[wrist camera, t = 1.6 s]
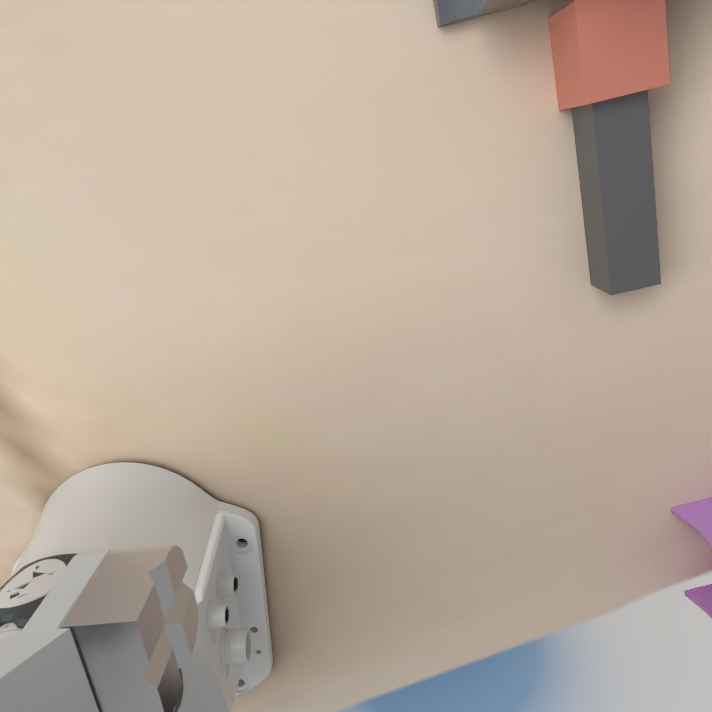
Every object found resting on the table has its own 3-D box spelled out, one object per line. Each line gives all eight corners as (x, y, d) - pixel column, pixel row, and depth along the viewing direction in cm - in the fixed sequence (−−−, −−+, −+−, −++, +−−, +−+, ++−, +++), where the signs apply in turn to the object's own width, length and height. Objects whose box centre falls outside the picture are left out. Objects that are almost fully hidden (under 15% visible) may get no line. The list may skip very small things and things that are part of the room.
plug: (648, 270, 39) (682, 284, 35) (579, 286, 39) (605, 301, 35) (627, -2, 34) (664, -23, 30) (548, 18, 34) (574, 0, 30)
